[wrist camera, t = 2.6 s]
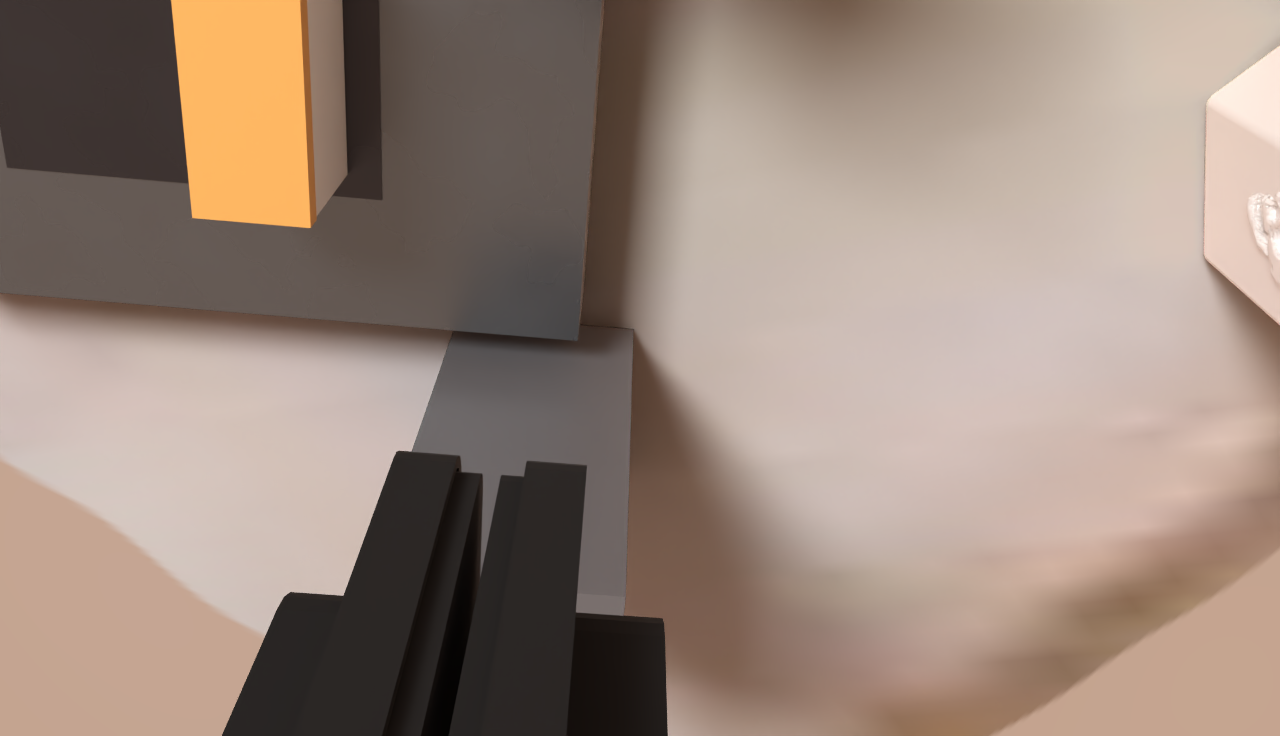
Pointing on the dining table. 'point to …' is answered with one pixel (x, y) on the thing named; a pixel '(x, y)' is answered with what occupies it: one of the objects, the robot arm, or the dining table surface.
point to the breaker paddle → (262, 107)
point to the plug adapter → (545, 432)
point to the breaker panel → (362, 204)
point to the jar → (1245, 183)
